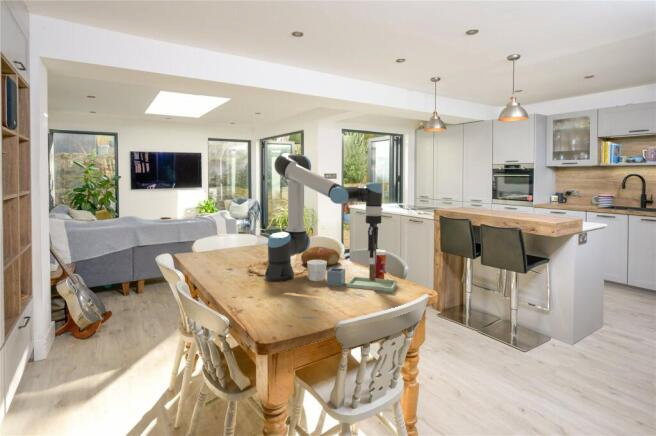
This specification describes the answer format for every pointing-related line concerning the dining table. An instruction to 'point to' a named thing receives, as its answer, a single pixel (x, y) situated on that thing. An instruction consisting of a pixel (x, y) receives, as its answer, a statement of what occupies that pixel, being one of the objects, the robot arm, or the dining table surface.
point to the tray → (373, 284)
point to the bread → (321, 255)
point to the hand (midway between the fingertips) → (372, 263)
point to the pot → (336, 277)
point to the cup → (316, 270)
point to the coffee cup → (380, 263)
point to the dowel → (372, 269)
